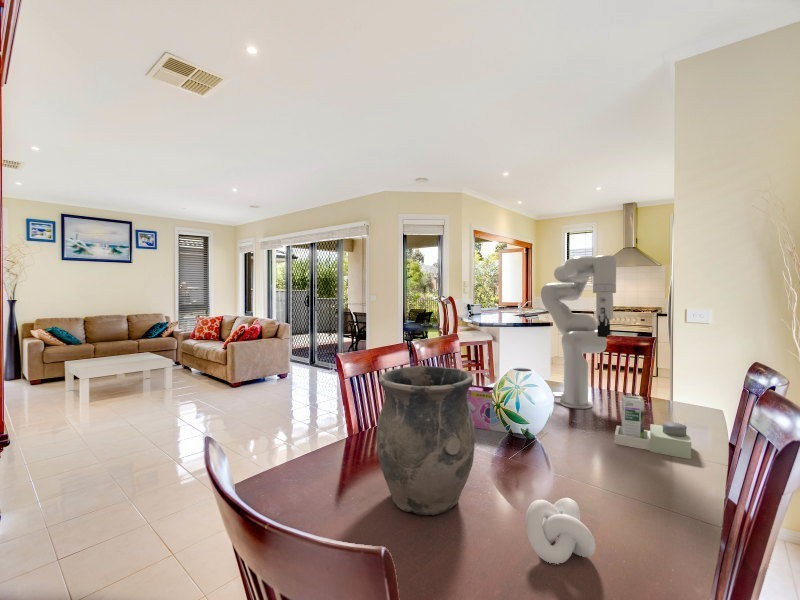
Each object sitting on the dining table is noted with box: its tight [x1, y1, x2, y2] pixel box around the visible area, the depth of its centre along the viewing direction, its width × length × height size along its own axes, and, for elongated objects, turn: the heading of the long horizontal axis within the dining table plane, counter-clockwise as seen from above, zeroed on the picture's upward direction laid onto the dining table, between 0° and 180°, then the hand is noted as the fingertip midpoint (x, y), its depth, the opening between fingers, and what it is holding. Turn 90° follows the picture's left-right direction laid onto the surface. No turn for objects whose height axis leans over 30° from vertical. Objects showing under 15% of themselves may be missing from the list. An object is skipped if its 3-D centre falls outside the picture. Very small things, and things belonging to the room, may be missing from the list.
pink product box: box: [467, 384, 509, 434], centre depth 140 cm, size 24×8×14 cm, turn 63°
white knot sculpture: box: [525, 497, 597, 565], centre depth 74 cm, size 11×12×9 cm
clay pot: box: [375, 365, 476, 516], centre depth 92 cm, size 22×23×30 cm
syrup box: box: [621, 394, 645, 439], centre depth 127 cm, size 6×6×14 cm
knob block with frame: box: [614, 421, 692, 460], centre depth 124 cm, size 20×12×8 cm, turn 57°
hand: (603, 335), depth 144 cm, fingers open, 9 cm apart
